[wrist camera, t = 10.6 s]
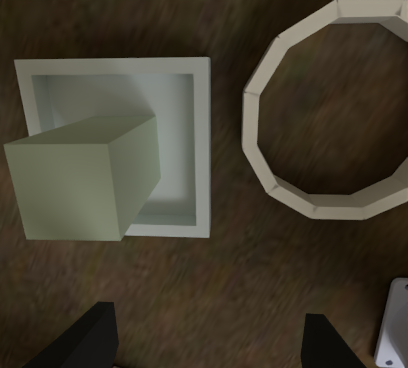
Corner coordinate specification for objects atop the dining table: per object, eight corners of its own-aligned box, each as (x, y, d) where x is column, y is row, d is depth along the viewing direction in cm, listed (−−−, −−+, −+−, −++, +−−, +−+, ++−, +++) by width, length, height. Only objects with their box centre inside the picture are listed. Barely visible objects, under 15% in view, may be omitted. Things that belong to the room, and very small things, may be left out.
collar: (469, 3, 16) (502, -6, 14) (419, 207, 20) (439, 221, 18) (245, 9, 17) (247, 0, 15) (239, 204, 21) (240, 217, 19)
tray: (210, 58, 18) (208, 57, 16) (210, 223, 21) (209, 237, 20) (35, 61, 19) (13, 59, 17) (63, 219, 22) (48, 232, 20)
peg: (156, 115, 19) (107, 144, 11) (161, 178, 20) (120, 240, 12) (92, 116, 19) (3, 144, 11) (101, 178, 20) (26, 239, 13)
